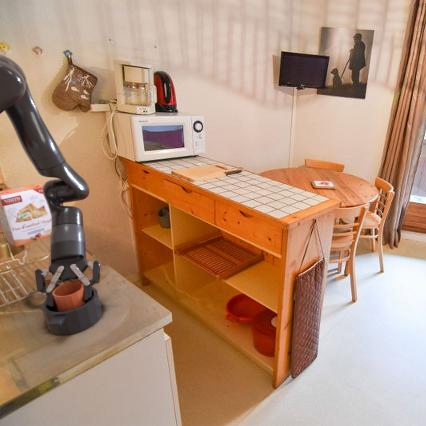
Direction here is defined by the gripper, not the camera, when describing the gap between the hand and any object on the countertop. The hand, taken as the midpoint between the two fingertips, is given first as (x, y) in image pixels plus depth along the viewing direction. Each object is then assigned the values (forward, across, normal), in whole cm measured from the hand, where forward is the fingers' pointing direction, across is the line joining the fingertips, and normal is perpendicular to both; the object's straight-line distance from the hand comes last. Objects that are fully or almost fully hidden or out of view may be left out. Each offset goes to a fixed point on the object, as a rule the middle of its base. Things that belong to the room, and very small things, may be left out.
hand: (70, 303), depth 82 cm
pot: (+3, 0, +6) cm, 7 cm away
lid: (-6, -7, +15) cm, 17 cm away
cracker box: (-35, -21, +45) cm, 61 cm away
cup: (+3, 0, +5) cm, 6 cm away
